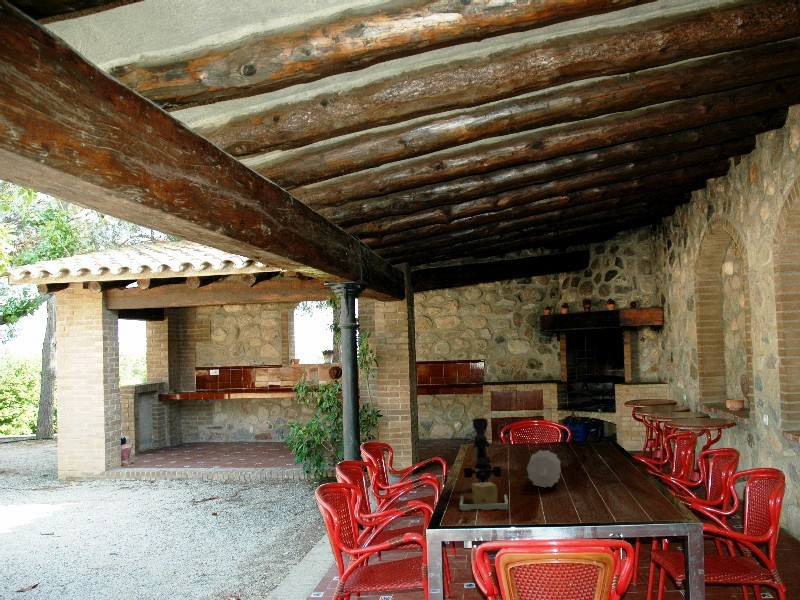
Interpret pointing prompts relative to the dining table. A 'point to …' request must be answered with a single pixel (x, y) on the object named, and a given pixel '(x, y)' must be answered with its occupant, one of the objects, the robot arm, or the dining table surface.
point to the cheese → (484, 493)
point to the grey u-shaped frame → (484, 505)
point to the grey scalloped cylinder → (544, 469)
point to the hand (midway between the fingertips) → (483, 486)
